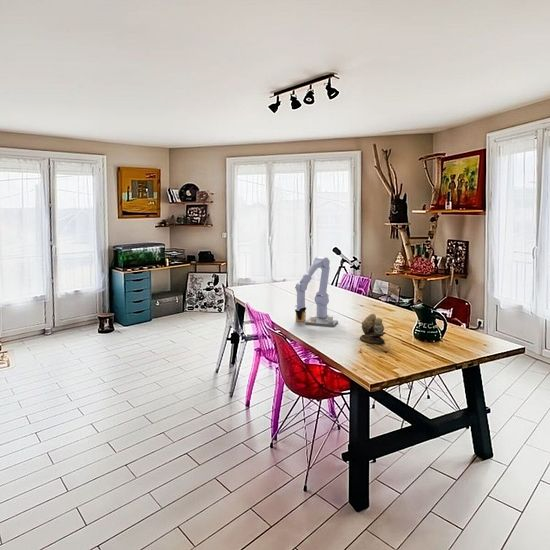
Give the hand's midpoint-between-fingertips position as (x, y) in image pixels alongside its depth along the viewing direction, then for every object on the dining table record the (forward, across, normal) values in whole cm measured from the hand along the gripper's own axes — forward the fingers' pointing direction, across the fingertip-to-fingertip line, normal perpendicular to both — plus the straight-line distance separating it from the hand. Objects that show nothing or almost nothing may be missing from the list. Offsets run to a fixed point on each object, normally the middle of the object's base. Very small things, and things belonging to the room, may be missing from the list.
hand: (300, 318), depth 309 cm
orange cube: (+1, 0, 0) cm, 1 cm away
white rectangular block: (+1, +3, +10) cm, 11 cm away
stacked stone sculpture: (+2, +32, +55) cm, 63 cm away
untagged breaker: (0, +3, +22) cm, 22 cm away
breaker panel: (+1, +3, +16) cm, 16 cm away
